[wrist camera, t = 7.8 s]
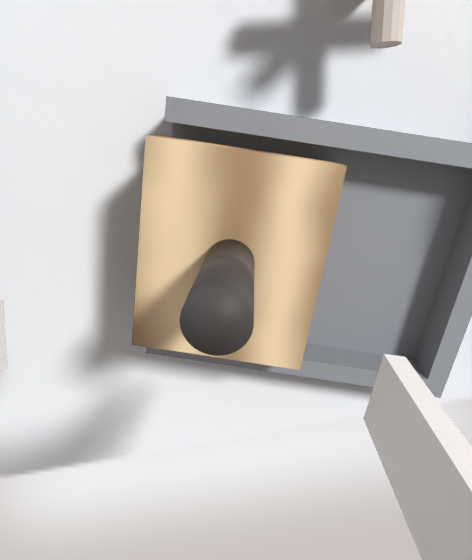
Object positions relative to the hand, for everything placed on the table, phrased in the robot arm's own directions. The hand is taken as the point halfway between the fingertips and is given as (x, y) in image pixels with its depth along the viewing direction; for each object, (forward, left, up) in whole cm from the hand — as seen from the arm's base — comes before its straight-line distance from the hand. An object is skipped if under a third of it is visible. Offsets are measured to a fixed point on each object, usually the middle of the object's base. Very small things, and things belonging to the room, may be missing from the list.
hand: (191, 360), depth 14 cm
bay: (+7, 0, -20) cm, 21 cm away
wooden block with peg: (+1, 0, -18) cm, 18 cm away
